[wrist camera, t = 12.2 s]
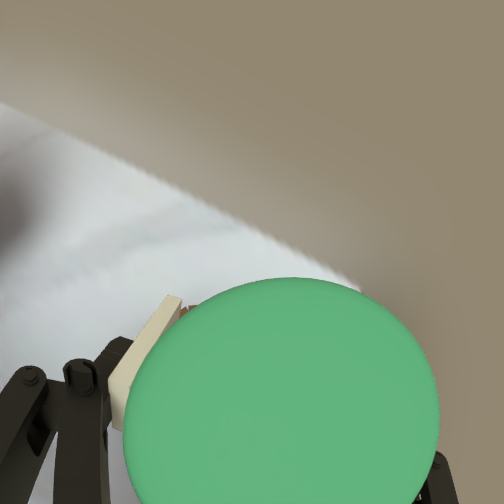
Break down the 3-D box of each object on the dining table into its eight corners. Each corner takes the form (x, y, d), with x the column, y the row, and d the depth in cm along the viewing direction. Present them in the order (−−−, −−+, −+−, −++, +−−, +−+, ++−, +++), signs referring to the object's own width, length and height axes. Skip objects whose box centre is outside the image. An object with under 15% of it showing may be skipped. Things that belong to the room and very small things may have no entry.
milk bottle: (294, 381, 22) (524, 300, 4) (249, 465, 18) (382, 638, 1) (206, 336, 23) (197, 118, 5) (158, 419, 19) (-40, 475, 2)
